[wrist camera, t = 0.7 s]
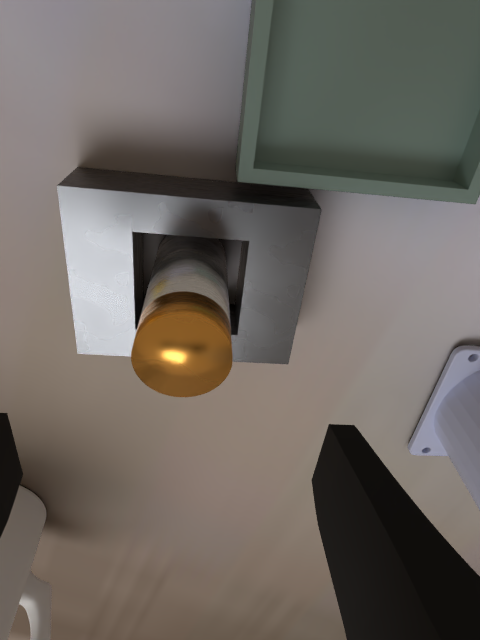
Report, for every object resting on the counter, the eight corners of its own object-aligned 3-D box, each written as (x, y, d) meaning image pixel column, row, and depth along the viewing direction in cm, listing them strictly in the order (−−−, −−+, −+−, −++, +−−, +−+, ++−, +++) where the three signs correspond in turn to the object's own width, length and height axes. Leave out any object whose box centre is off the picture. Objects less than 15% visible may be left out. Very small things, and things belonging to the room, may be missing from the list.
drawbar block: (308, 189, 17) (321, 209, 15) (280, 332, 21) (288, 364, 19) (77, 167, 16) (57, 185, 14) (91, 321, 20) (77, 353, 18)
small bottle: (229, 230, 18) (237, 320, 12) (222, 292, 19) (227, 398, 14) (157, 223, 18) (129, 314, 12) (156, 287, 19) (132, 395, 13)
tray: (566, -113, 13) (614, -134, 11) (453, 190, 17) (475, 204, 16) (268, -167, 12) (276, -199, 10) (235, 169, 17) (237, 181, 15)
